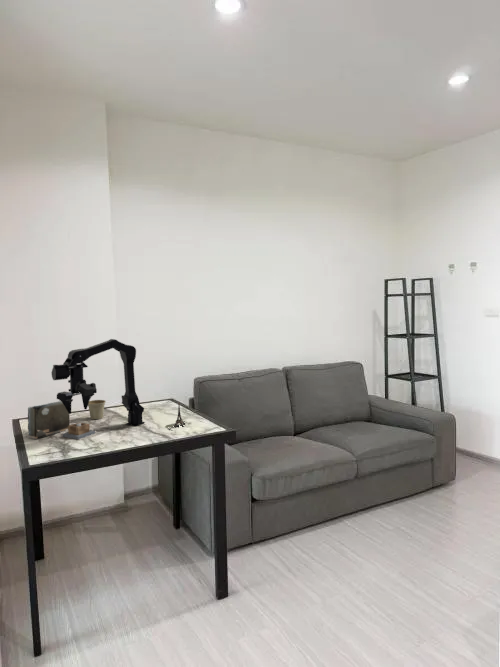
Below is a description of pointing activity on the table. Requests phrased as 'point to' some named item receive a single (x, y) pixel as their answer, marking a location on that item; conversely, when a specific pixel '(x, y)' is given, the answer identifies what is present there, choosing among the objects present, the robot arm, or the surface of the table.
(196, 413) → the table surface
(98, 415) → the flower pot
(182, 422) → the eiffel tower figurine
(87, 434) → the hub
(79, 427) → the collar
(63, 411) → the radio
